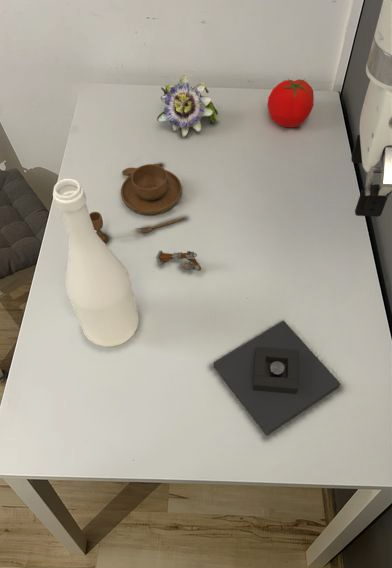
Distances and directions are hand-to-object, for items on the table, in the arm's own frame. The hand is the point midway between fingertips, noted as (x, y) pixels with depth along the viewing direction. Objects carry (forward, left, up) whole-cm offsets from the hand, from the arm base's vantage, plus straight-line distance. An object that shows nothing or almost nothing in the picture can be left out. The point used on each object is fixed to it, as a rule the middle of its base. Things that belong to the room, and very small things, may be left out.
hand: (364, 187), depth 66 cm
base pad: (+13, +14, -24) cm, 30 cm away
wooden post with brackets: (+25, -11, -24) cm, 36 cm away
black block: (+13, +14, -22) cm, 29 cm away
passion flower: (+18, -50, -24) cm, 58 cm away
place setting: (+32, -28, -24) cm, 48 cm away
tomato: (-4, -47, -24) cm, 53 cm away
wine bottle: (+38, 0, -24) cm, 45 cm away
